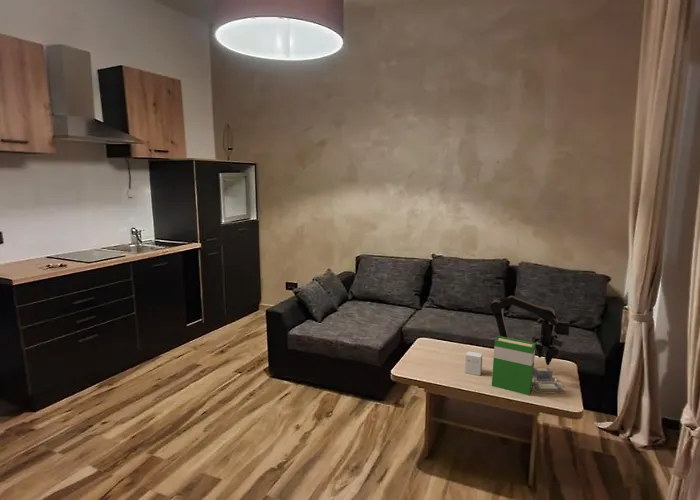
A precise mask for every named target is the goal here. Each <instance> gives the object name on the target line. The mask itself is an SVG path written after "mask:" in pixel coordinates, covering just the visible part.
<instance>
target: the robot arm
mask: <svg viewBox="0 0 700 500" xmlns="http://www.w3.org/2000/svg"><path fill="white" fill-rule="evenodd" d="M509 306H514V307H518V308H520V309H523V310H525V311H527V312H530V313H532V314H535V315H536V316H537V317H538V318H539V319H537V321H536V323H537V324H540V332H538V335H539V336H538V335H537V336H533V337H532V338H531V342H532V343H536V346H535V353H536V355H537V357H538V358H539V359H541V358H542V355H543V356H544V360H545V364H546V366H549V365H550V364H551V362H552V359H553V358H554V357H555V356H559V355H560V350H559V349H558V348H562V346H563V344H564V341H563V340H561V339H560V338H559V337H558V335H560V336H566V337H570V336H569V335H570V321H559V319H558V318H557V316H556V314H555V310H554V308H553V307H550V306H544V305H537V304H536V303H535V304H534V303H532V302H529V301H527V300H524V299H522V298H519V297H516V296H515V295H509V296H507V297H504V298H500V299H494V300H493V301H492V302H491V304H490V306H489V308H490V311H491V313H492V315H493V317H494V318H495V320H496V326H497V329H498V333H499V336H501V337H507V338H510V336H509V332H508V327H507V325H506V321H505V318H504V317H505V316H504V309H505V308H508V307H509ZM554 333H555V334H554ZM556 346H557V347H558V348H557V347H556Z"/></svg>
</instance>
